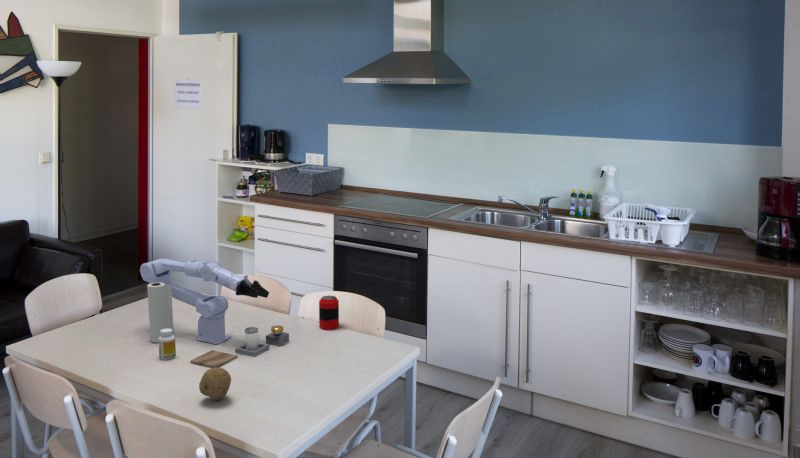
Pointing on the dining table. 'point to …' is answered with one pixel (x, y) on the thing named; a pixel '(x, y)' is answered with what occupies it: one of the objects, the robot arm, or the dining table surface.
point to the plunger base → (277, 338)
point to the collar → (243, 350)
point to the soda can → (329, 313)
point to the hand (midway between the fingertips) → (262, 295)
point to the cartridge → (251, 338)
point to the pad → (213, 359)
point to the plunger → (277, 330)
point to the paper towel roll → (159, 309)
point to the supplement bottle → (167, 344)
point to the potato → (215, 383)
